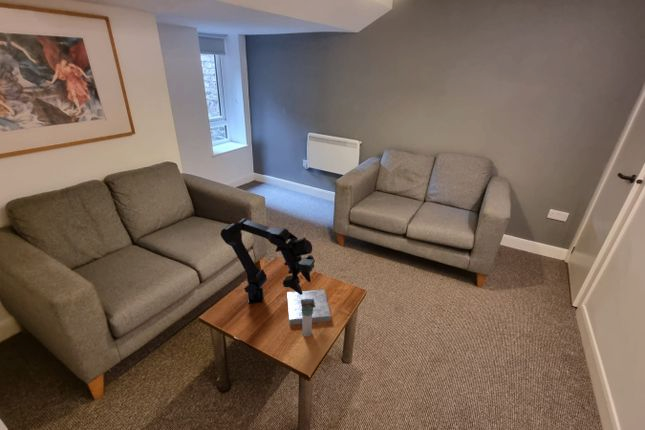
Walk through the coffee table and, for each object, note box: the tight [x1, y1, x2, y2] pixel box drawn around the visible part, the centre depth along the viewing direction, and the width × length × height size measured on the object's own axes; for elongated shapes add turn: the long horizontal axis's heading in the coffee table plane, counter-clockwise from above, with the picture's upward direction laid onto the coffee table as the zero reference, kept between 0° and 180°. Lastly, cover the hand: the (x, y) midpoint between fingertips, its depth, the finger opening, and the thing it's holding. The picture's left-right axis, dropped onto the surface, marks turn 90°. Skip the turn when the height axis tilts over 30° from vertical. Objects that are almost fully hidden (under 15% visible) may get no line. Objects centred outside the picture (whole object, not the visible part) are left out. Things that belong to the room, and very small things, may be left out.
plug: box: [301, 304, 314, 338], centre depth 128 cm, size 5×5×13 cm
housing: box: [286, 289, 332, 326], centre depth 143 cm, size 18×18×3 cm
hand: (305, 288), depth 136 cm, fingers open, 9 cm apart
